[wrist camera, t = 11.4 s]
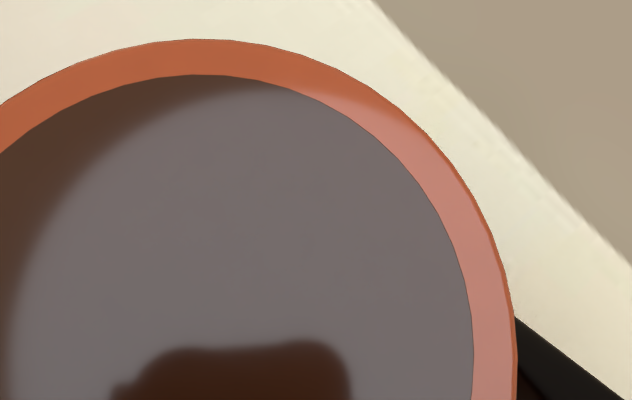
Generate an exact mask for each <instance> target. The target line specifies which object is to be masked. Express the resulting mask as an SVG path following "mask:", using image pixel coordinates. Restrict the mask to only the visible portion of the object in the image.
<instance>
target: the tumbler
mask: <svg viewBox="0 0 632 400" xmlns="http://www.w3.org/2000/svg"><path fill="white" fill-rule="evenodd" d="M517 363H518V353H517V342H516V331H515V320H514V311H513V306H512V302H511V297H510V292H509V288H508V283H507V278H506V274H505V270H504V267H503V264H502V261H501V259H500V256H499V253H498V250H497V247H496V244H495V241H494V238H493V236H492V233H491V231H490V229H489V227H488V224H487V222H486V220H485V218H484V216H483V214H482V212H481V210H480V208H479V206H478V204H477V202H476V200H475V198H474V196H473V195H472V193H471V192H470V190H469V189H468V187H467V185H466V184H465V182H464V181H463V179H462V178H461V176H460V175H459V173H458V172H457V170H456V169H455V167H454V166H453V164H452V163H451V162H450V160H449V159H448V158H447V157H446V156H445V155H444V153H443V152H442V151H441V150H440V149H439V147H438V146H437V145H436V144H435V143H434V142H433V140H432V139H431V138H430V137H429V136H428V134H427V133H425V132H424V131H423V130H422V129H421V128H420V127H419V126H418V125H417V124H416V123H415V122H414V121H412V120H411V119H410V118H409V117H408V116H407V115H406V114H405V113H404V112H403V111H402V110H401V109H399V108H398V107H397V106H395V105H394V104H392V103H391V102H390V101H388V100H387V99H386V98H384V97H383V96H381V95H380V94H379V93H377V92H376V91H374V90H373V89H372V88H370V87H369V86H367V85H365V84H363V83H362V82H360V81H358V80H356V79H354V78H352V77H351V76H349V75H347V74H345V73H343V72H342V71H340V70H338V69H336V68H333V67H331V66H329V65H326V64H324V63H321V62H319V61H316V60H314V59H311V58H309V57H306V56H304V55H301V54H297V53H293V52H290V51H286V50H282V49H278V48H275V47H271V46H267V45H261V44H254V43H247V42H241V41H234V40H216V39H184V40H173V41H162V42H152V43H147V44H143V45H138V46H133V47H128V48H123V49H118V50H114V51H111V52H108V53H105V54H102V55H99V56H96V57H93V58H90V59H87V60H84V61H81V62H78V63H76V64H74V65H71V66H69V67H67V68H65V69H63V70H61V71H58V72H56V73H54V74H52V75H50V76H48V77H45V78H43V79H41V80H40V81H38V82H36V83H35V84H33V85H31V86H30V87H28V88H26V89H25V90H23V91H21V92H20V93H18V94H16V95H15V96H13V97H11V98H10V99H8V100H7V101H5V102H4V103H3V104H1V105H0V400H516V393H517Z"/></svg>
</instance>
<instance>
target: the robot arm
mask: <svg viewBox="0 0 632 400" xmlns="http://www.w3.org/2000/svg"><path fill="white" fill-rule="evenodd" d="M514 320H515V331H516V342H517V353H518V363H517V393H516V400H624V399H623V398H621V397H620V396H619V395H617V394H616V393H615V392H613V391H612V390H611V389H609V388H608V387H607V386H605V385H604V384H603V383H602V382H600V381H599V380H598V379H596V378H595V377H594V376H592V375H591V374H590V373H588V372H587V371H586V370H584V369H583V368H582V367H581V366H579V365H578V364H577V363H575V362H574V361H573V360H571V359H570V358H569V357H567V356H566V355H565V354H564V353H562V352H561V351H560V350H558V349H557V348H556V347H554V346H553V345H552V344H550V343H549V342H548V341H546V340H545V339H544V338H543V337H541V336H540V335H539V334H537V333H536V332H535V331H533V330H532V329H531V328H529V327H528V326H527V325H526V324H524V323H523V322H522V321H520V320H519V319H518V318H516V317H515V316H514Z"/></svg>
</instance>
